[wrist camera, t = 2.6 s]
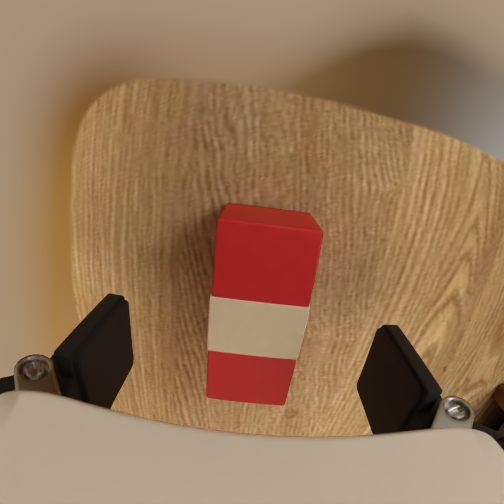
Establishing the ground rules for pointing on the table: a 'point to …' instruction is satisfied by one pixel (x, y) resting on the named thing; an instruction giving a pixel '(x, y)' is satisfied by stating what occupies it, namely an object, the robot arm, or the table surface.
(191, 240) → the table surface
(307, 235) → the rectangular block
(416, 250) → the table surface
